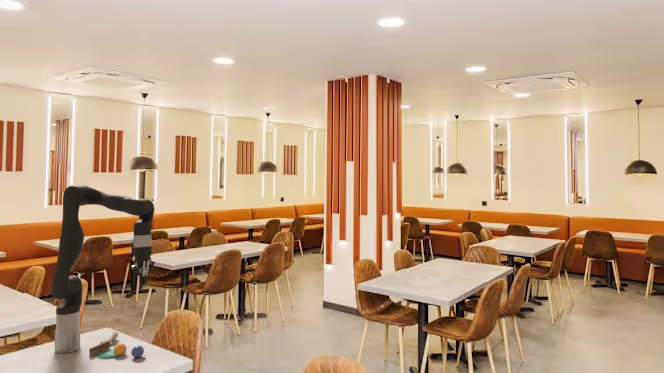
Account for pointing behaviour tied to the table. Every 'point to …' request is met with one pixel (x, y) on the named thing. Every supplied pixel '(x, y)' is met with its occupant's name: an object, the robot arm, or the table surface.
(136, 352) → the blue ball
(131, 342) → the table surface
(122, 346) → the orange ball
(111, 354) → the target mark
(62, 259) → the robot arm
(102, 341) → the coral
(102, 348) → the rail
